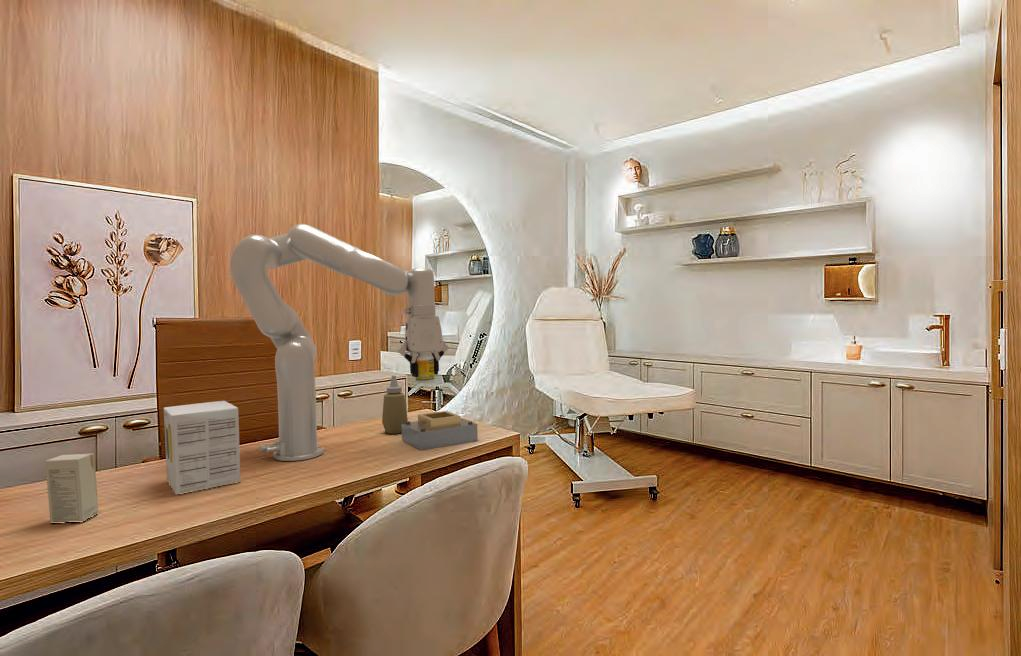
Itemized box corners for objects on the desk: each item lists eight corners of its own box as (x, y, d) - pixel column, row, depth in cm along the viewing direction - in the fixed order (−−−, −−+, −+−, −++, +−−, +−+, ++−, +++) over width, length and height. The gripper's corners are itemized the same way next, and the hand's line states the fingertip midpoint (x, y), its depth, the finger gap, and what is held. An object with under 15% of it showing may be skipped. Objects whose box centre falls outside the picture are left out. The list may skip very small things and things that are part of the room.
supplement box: (165, 481, 124) (162, 406, 124) (228, 469, 133) (225, 399, 132) (174, 496, 114) (171, 415, 113) (241, 483, 123) (239, 407, 122)
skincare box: (99, 514, 105) (96, 452, 104) (82, 523, 100) (79, 459, 100) (66, 515, 104) (62, 453, 104) (47, 524, 100) (44, 459, 100)
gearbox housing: (420, 450, 148) (420, 423, 148) (401, 440, 160) (401, 415, 160) (477, 440, 158) (477, 415, 158) (456, 431, 170) (455, 408, 169)
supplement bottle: (419, 380, 156) (417, 347, 156) (436, 380, 156) (435, 347, 155) (413, 383, 151) (411, 349, 150) (431, 383, 150) (430, 349, 150)
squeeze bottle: (379, 430, 172) (378, 375, 171) (404, 428, 176) (403, 373, 175) (385, 436, 165) (383, 378, 164) (410, 433, 168) (409, 376, 168)
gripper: (397, 313, 145) (400, 380, 146) (455, 310, 154) (457, 373, 154) (388, 313, 151) (391, 377, 152) (444, 310, 160) (447, 371, 161)
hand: (425, 374), depth 153 cm, fingers closed on supplement bottle, 5 cm apart
